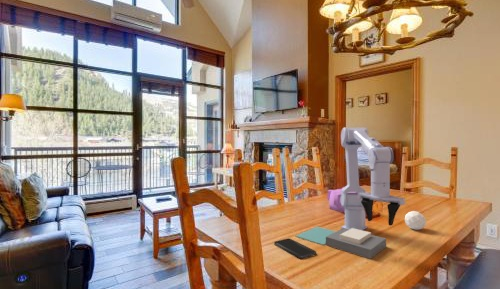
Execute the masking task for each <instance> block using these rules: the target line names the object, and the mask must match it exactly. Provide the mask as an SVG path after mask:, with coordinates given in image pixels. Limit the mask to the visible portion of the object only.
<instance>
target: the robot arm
mask: <svg viewBox="0 0 500 289" xmlns="http://www.w3.org/2000/svg"><path fill="white" fill-rule="evenodd" d="M340 144H341V147H343V148H344V149H345V150H344V151H345V164H346V165H345V167H346V168H345V169H346V185H345V186H343V187H344V188H343V189H342V188H341V189H342V190H341V197H340V200H341V205H342V206H343V207H345V212H344V225H342V226H340V228H341V229H343V228H346V229H351V228H354V229H358V230H363V231H365V230H366V229H367V228H368V227H369V226H367V225H366V217H367V221H368V222H372V221H373V209H374V208H373V206H374V201H376V202H377V201H378V202H382V203H388V204H387V212H388V226H390V227H391V226H392V225H394V221H395V217H396V215H397V213H398V210H400V209H399V208H400V207H401V206H405V205H406V198H404V197H399V196H395V195H390V194H391V190H390V189H391V185H390V184H391V181H390V180H391V178H390V176H391V173H390V172H391V167H390V166H391V164H392V163H393V161H394V151H393V149H392V148H391V146H383V145H382V144H381V143H380V142H379V141H378V140H377V139H376V138H375V136H373V137H370V136H369V130H368V128H367V127H365V126H363V127H345V126H344V127H343V128H342V129H341V131H340ZM359 148H361V149H362V150H363V151H364V152H365V154H366V155H367V161H368V165H369V166H368V168H369V169H370V193H369V192H366V190H365V189H364V188H363V187H362V186H360V179H359V178H360V177H359V176H360V175H359V161H358V160H359V158H358V157H359V156H358V149H359ZM348 192H359V193H348Z"/></svg>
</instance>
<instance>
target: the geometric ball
mask: <svg viewBox="0 0 500 289" xmlns="http://www.w3.org/2000/svg"><path fill="white" fill-rule="evenodd" d="M404 216H405V217H404V222H405V225H406V226H407V227H409V228H410V229H411V230H414V231H419V230H422V229H424V228H425V227H426V225H427V220H426V217H425V215H423V214H422V213H421V212H419V211H417V210H416V211H415V210H412V211H409V212H407V213H406V214H405V215H404Z"/></svg>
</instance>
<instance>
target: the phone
mask: <svg viewBox="0 0 500 289" xmlns="http://www.w3.org/2000/svg"><path fill="white" fill-rule="evenodd" d="M274 246H276V247H277V248H279V249H281V250H282V251H285V252H286V253H288V254H289V255H291V256H293V257H295V258H296V259H299V260H304V259H307V258H310V257H314V256H317V251H316V250H314V249H312V248H310V247H308V246H306V245H304V244H303V243H300V242H298V241H296V240H294V239H292V238H290V237H289V238H285V239H284V238H282V239H279V240H276V241H274Z"/></svg>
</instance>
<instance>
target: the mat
mask: <svg viewBox="0 0 500 289" xmlns="http://www.w3.org/2000/svg"><path fill="white" fill-rule="evenodd" d="M335 232H337V230H336V231H335V230H332V229H328V228H324V227H320V226H314V227H313V228H310V229H308V230H306V231H304V232H300V233H299V234H296V235H295V237H296V238H299V239H301V240H304V241H305V240H306V241H307V242H308V241H309V242H312V243H315V244H317V245H322V246H325V245H326V236H328V235H330V234H333V233H335Z"/></svg>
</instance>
